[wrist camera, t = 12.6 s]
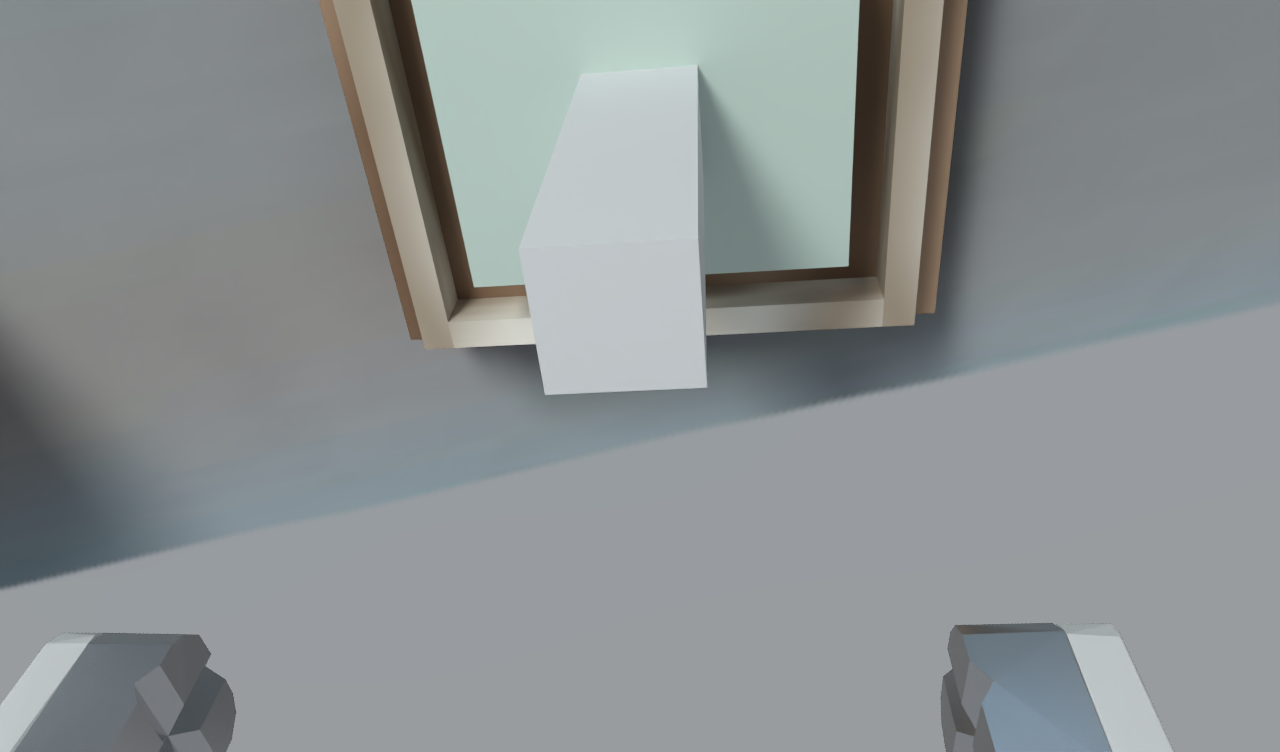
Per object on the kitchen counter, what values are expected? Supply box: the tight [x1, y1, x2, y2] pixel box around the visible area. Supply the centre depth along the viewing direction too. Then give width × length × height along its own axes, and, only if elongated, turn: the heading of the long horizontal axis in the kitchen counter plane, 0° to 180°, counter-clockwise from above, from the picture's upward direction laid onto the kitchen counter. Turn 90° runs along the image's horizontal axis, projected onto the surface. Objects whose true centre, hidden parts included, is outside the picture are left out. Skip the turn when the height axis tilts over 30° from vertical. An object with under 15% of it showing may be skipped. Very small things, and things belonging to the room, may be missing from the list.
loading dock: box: [319, 0, 968, 349], centre depth 27 cm, size 18×19×4 cm
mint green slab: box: [411, 0, 860, 395], centre depth 21 cm, size 11×9×13 cm
